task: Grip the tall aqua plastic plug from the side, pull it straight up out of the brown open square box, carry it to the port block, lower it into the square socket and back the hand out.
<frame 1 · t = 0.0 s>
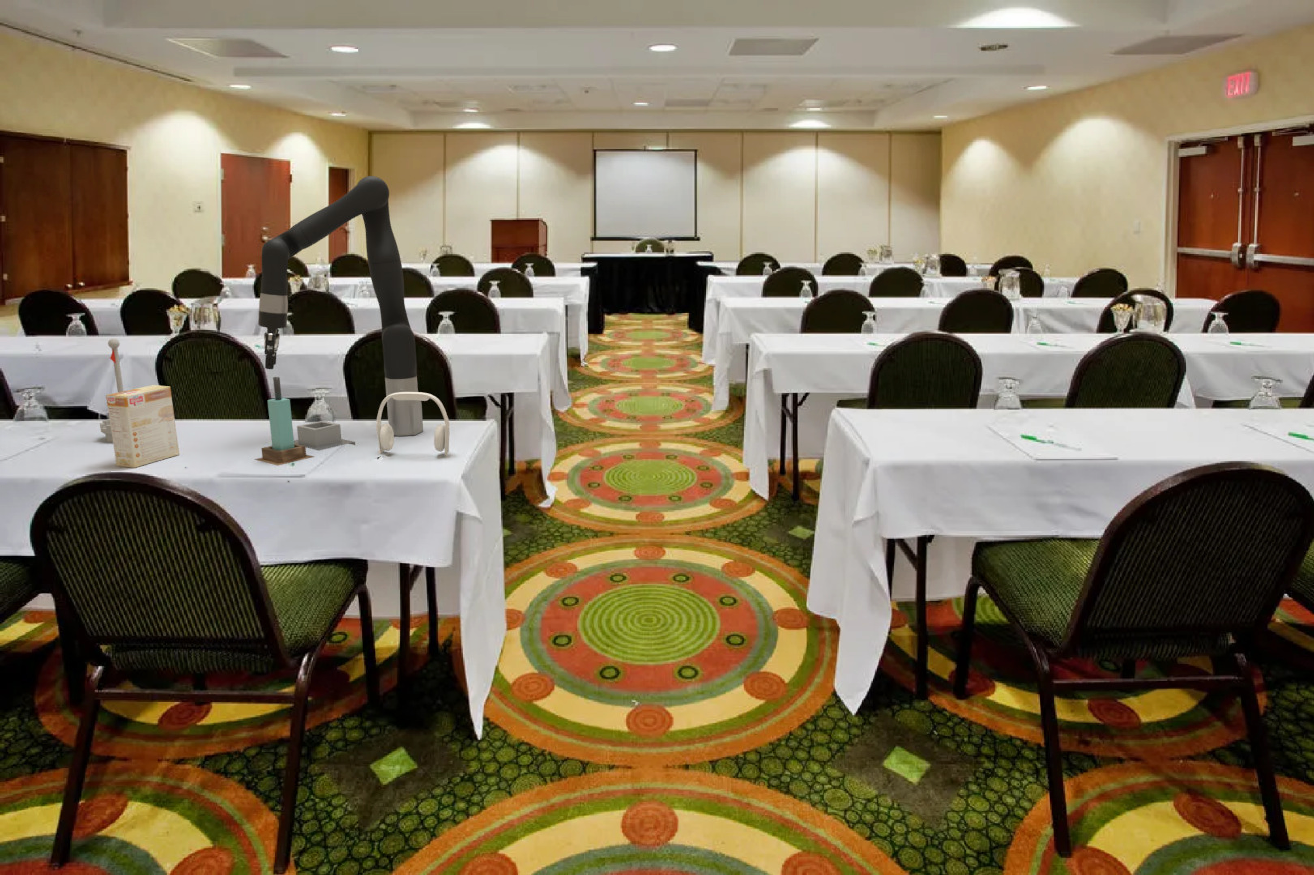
hand: (270, 366, 274), 22 cm above the table, tool pointing down, fingers open, 8 cm apart
coffeecake box: (148, 461, 261), on the table
flag stand: (127, 438, 287), on the table
brown open square box: (284, 461, 258), on the table
port: (320, 445, 275), on the table
headset: (414, 456, 263), on the table
plug: (284, 457, 258), point 1 cm above the table, touching brown open square box
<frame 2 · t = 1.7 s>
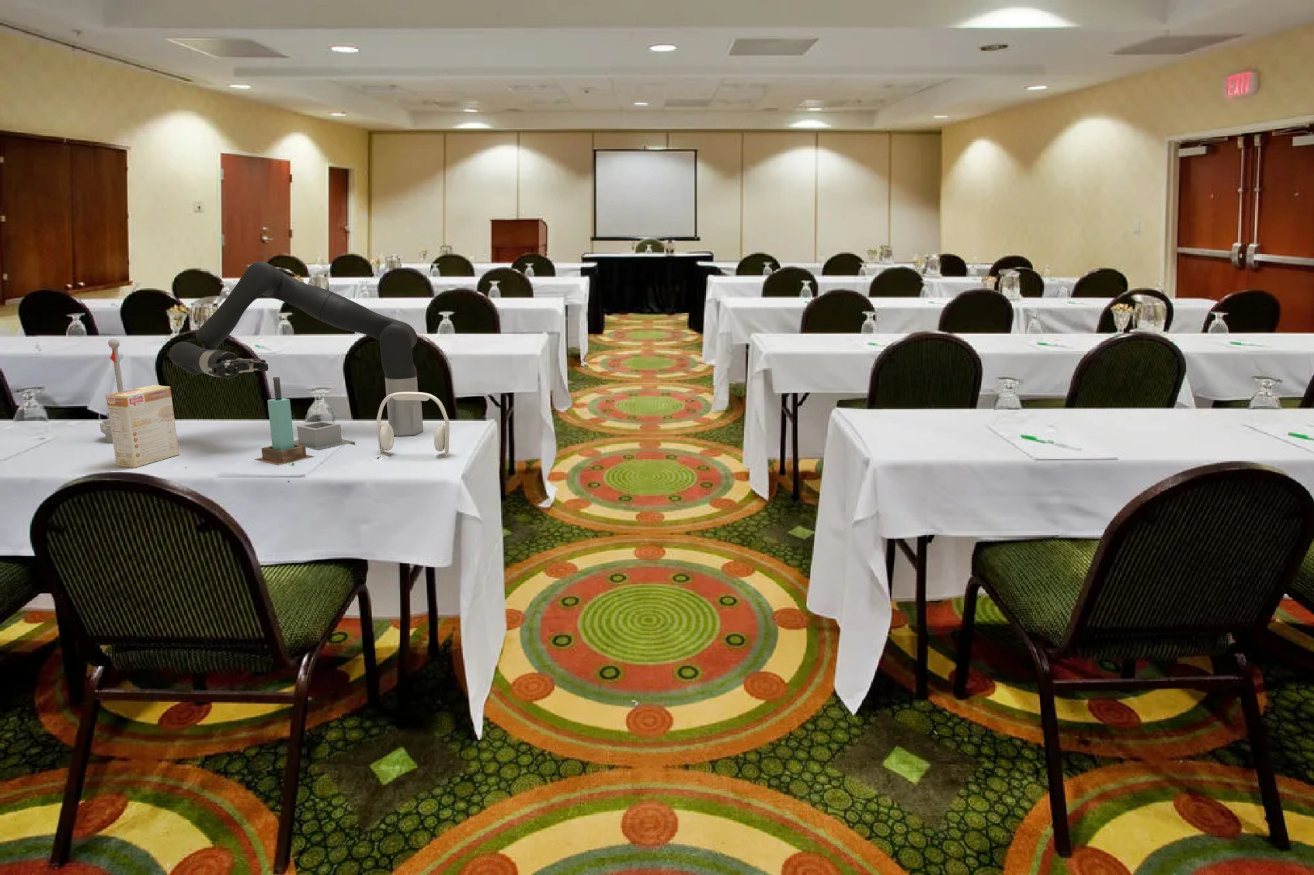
hand: (252, 369, 259), 24 cm above the table, tool horizontal, fingers open, 8 cm apart
nothing on the table moved.
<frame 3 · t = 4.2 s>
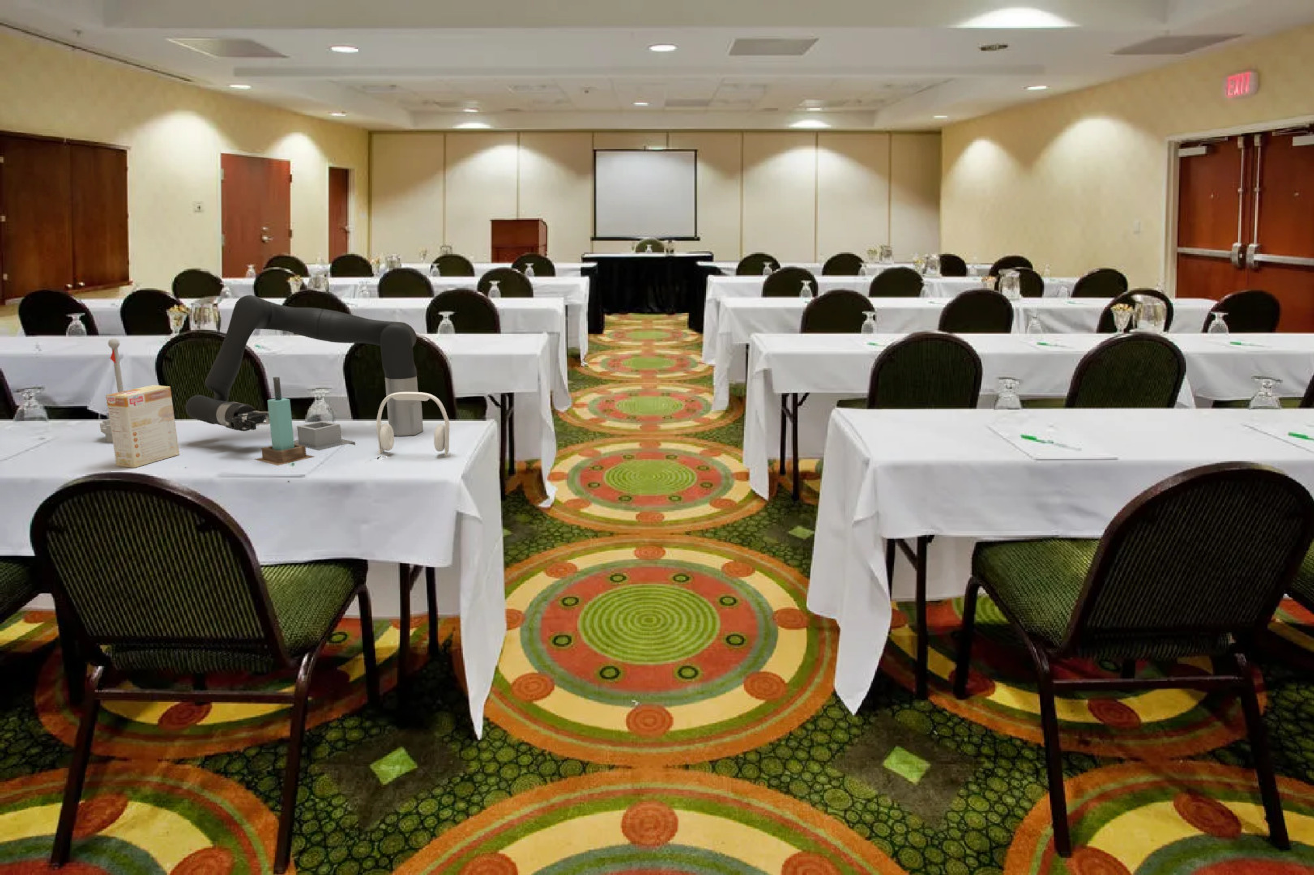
hand: (269, 422, 259), 10 cm above the table, tool horizontal, fingers open, 8 cm apart
nothing on the table moved.
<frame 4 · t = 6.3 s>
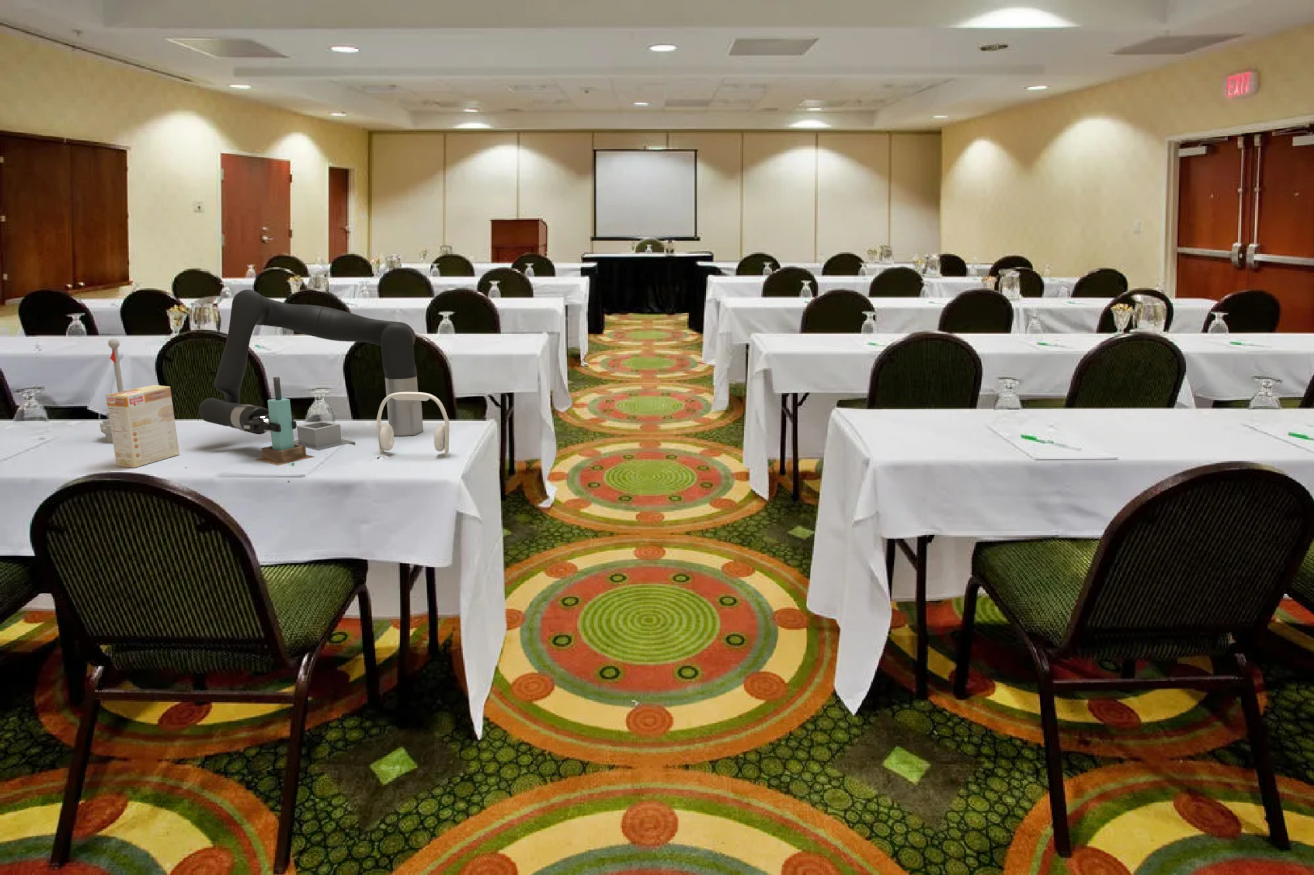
hand: (287, 426, 254), 10 cm above the table, tool horizontal, fingers closed on plug, 4 cm apart
plug: (284, 457, 258), point 1 cm above the table, touching gripper, brown open square box
everything else where it was.
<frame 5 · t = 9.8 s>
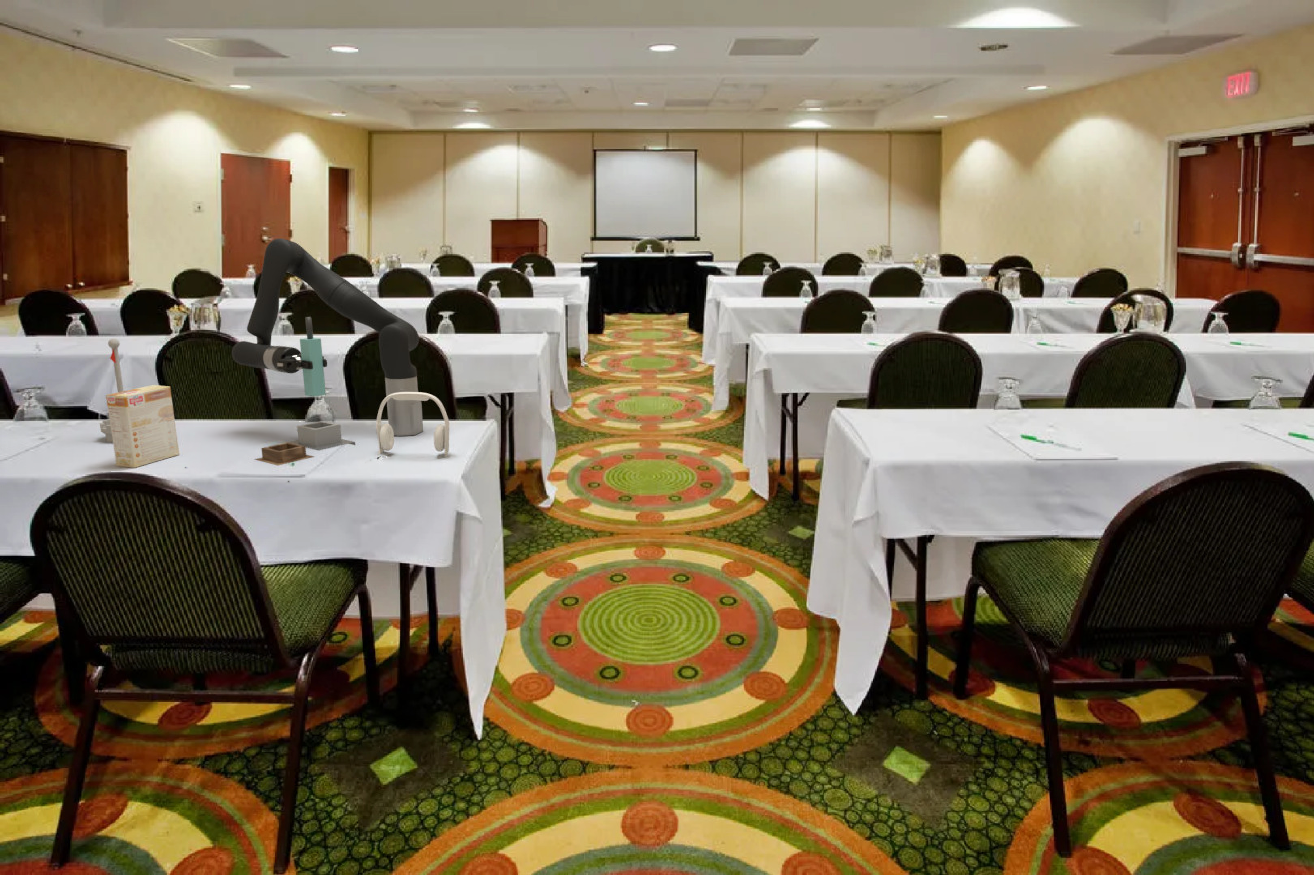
hand: (318, 364, 268), 24 cm above the table, tool horizontal, fingers closed on plug, 4 cm apart
plug: (315, 394, 271), point 15 cm above the table, touching gripper
everything else where it was.
when the fingers open (11 cm above the table, at t = 13.2 s): plug drops 1 cm, resting on port.
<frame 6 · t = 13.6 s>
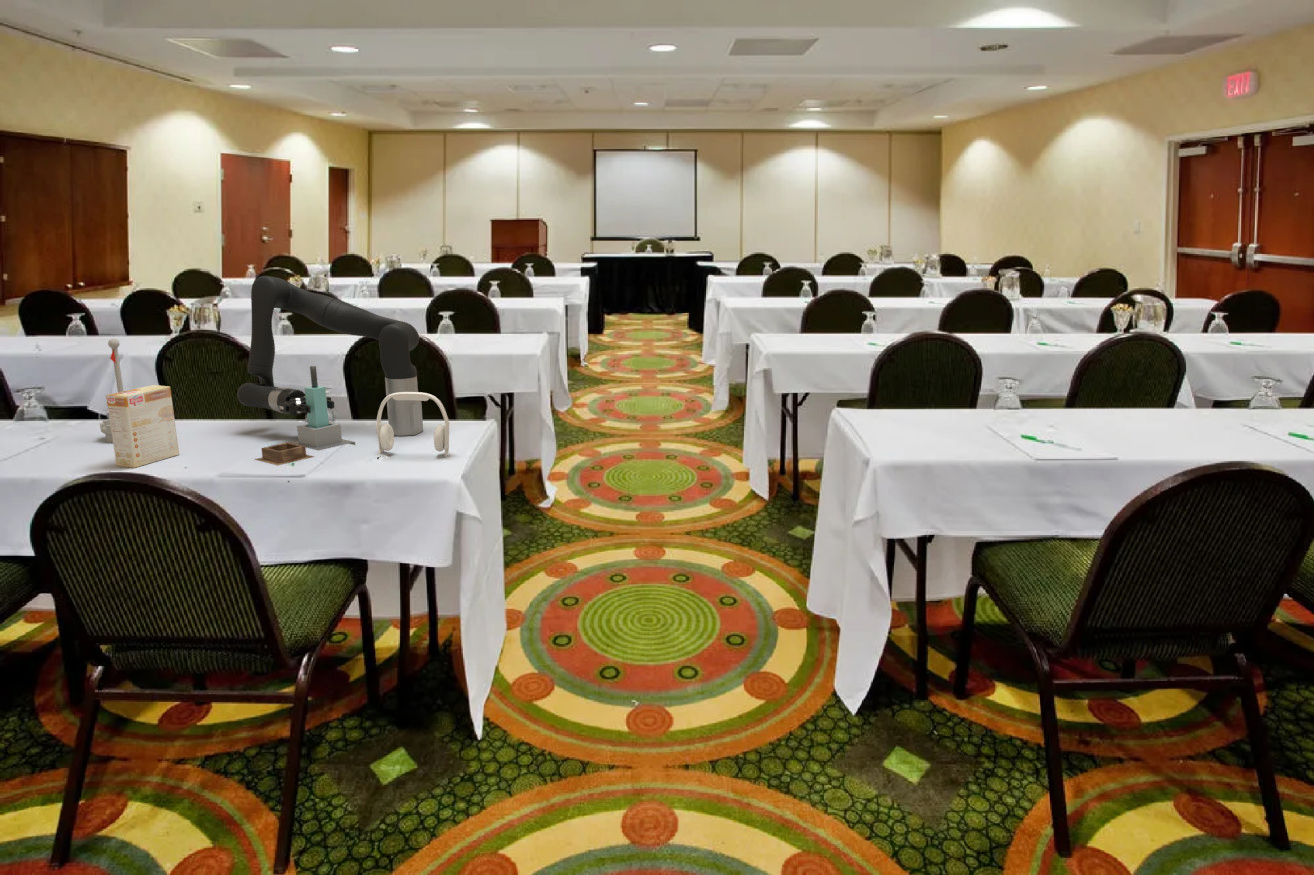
hand: (321, 407, 271), 12 cm above the table, tool horizontal, fingers open, 7 cm apart
plug: (320, 442, 275), point 1 cm above the table, touching port
everything else where it was.
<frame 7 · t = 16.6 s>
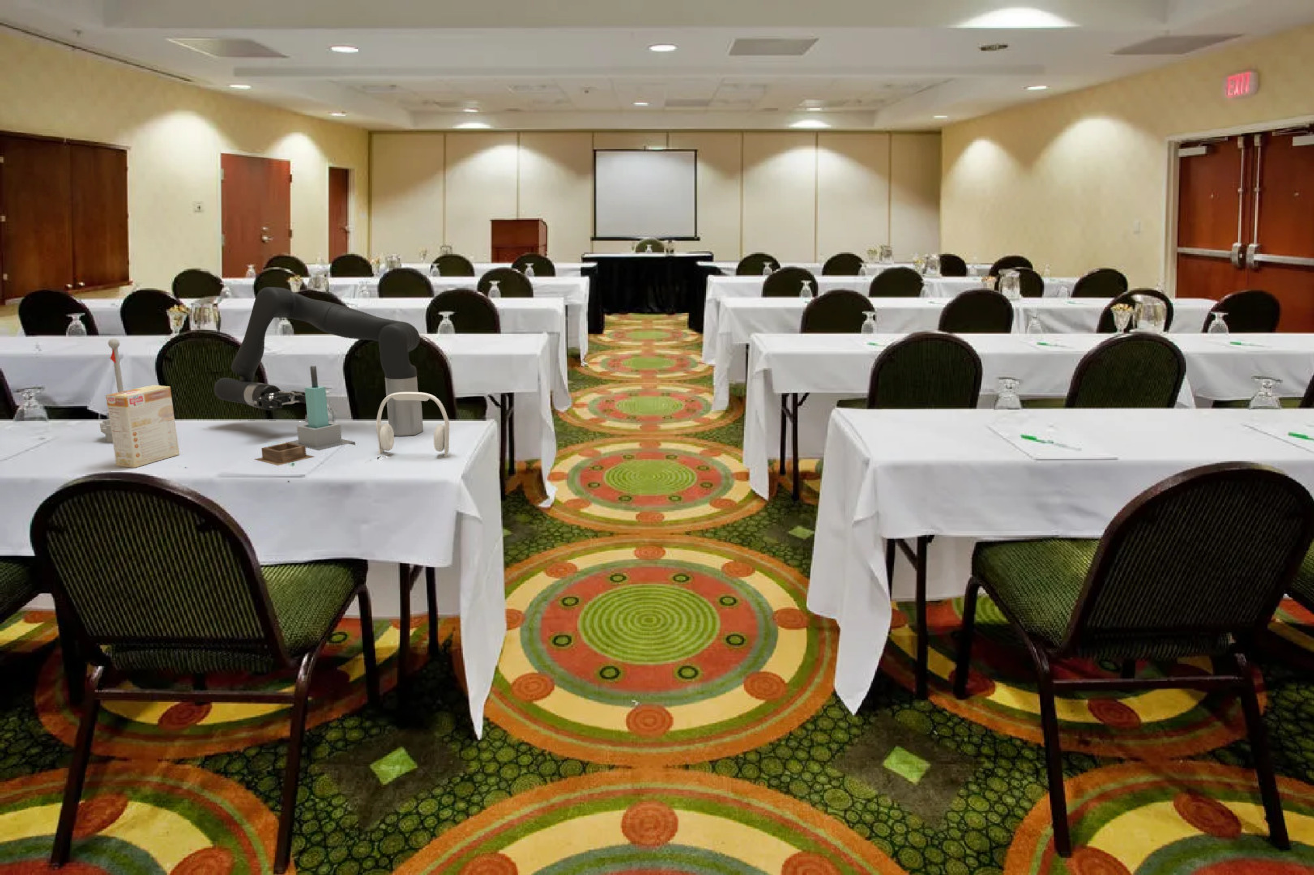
hand: (294, 402, 279), 12 cm above the table, tool horizontal, fingers open, 8 cm apart
nothing on the table moved.
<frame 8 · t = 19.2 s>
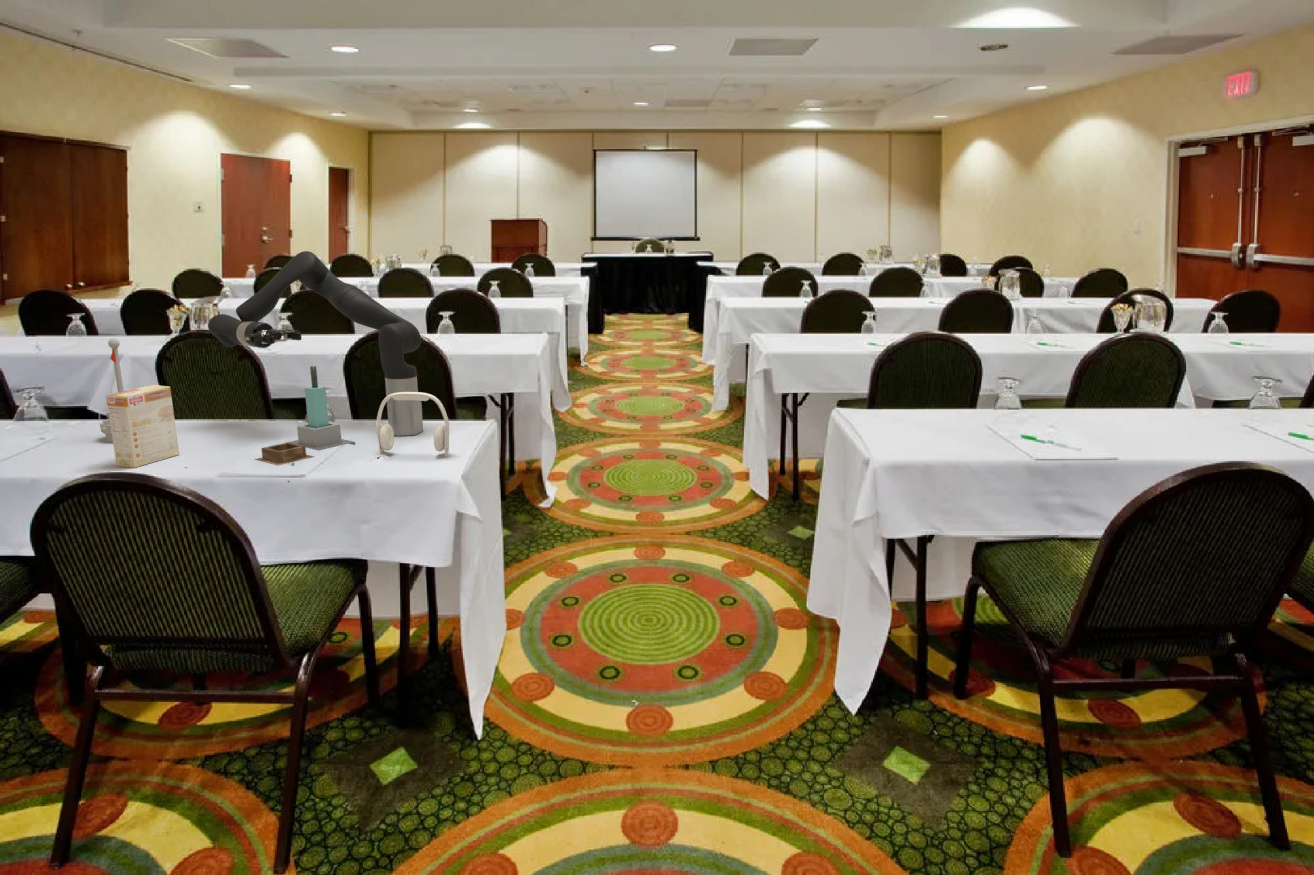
hand: (286, 338, 276), 30 cm above the table, tool horizontal, fingers open, 8 cm apart
nothing on the table moved.
at the end: plug 0.1 cm off-centre on the port, point 1.0 cm above the port's base; plug tilted 0°; the gripper is holding nothing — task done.
